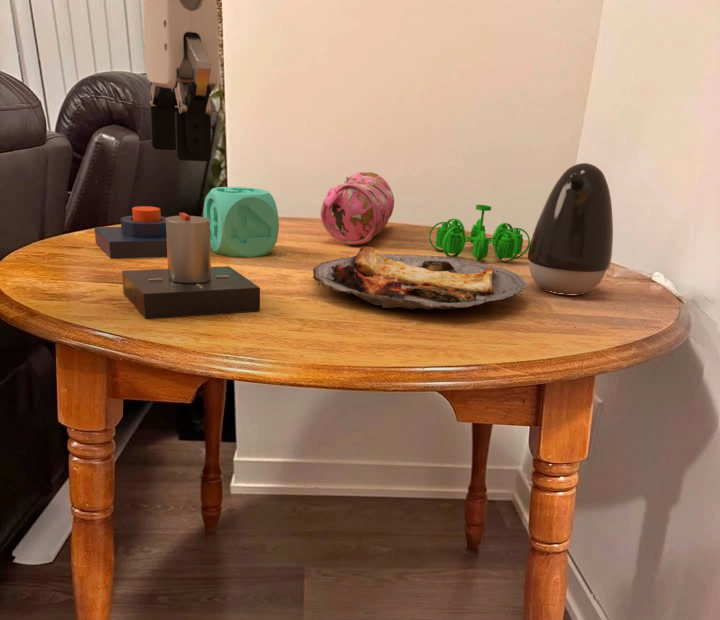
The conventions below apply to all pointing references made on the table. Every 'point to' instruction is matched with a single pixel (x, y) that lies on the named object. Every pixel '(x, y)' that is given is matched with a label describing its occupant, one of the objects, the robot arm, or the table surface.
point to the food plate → (418, 280)
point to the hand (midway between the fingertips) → (180, 154)
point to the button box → (133, 239)
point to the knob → (188, 248)
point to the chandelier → (479, 238)
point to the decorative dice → (241, 221)
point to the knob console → (190, 293)
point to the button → (146, 214)
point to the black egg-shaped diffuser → (573, 233)
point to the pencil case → (357, 208)
